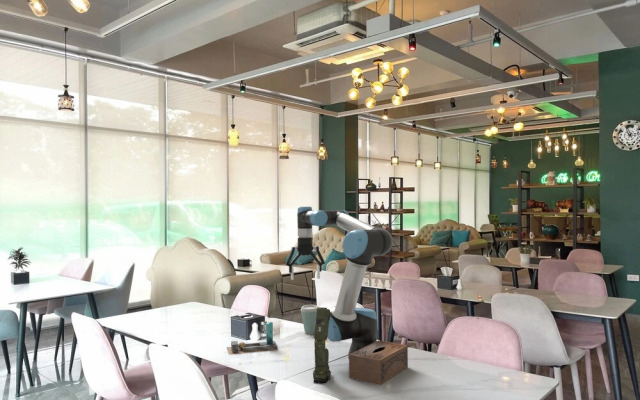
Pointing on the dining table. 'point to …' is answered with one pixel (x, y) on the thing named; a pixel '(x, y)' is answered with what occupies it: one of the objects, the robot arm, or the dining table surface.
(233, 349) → the press base
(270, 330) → the ram
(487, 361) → the dining table surface
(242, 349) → the walnut
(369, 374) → the tissue box cover
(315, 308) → the disposable coffee cup
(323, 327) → the mechanical leg
